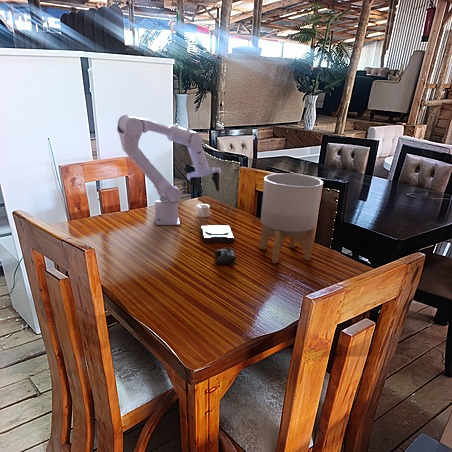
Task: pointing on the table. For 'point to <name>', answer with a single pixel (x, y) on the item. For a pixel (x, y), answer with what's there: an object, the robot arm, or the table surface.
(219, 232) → the scale
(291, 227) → the planter
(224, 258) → the gaming controller
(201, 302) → the table surface
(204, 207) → the small grey cup
